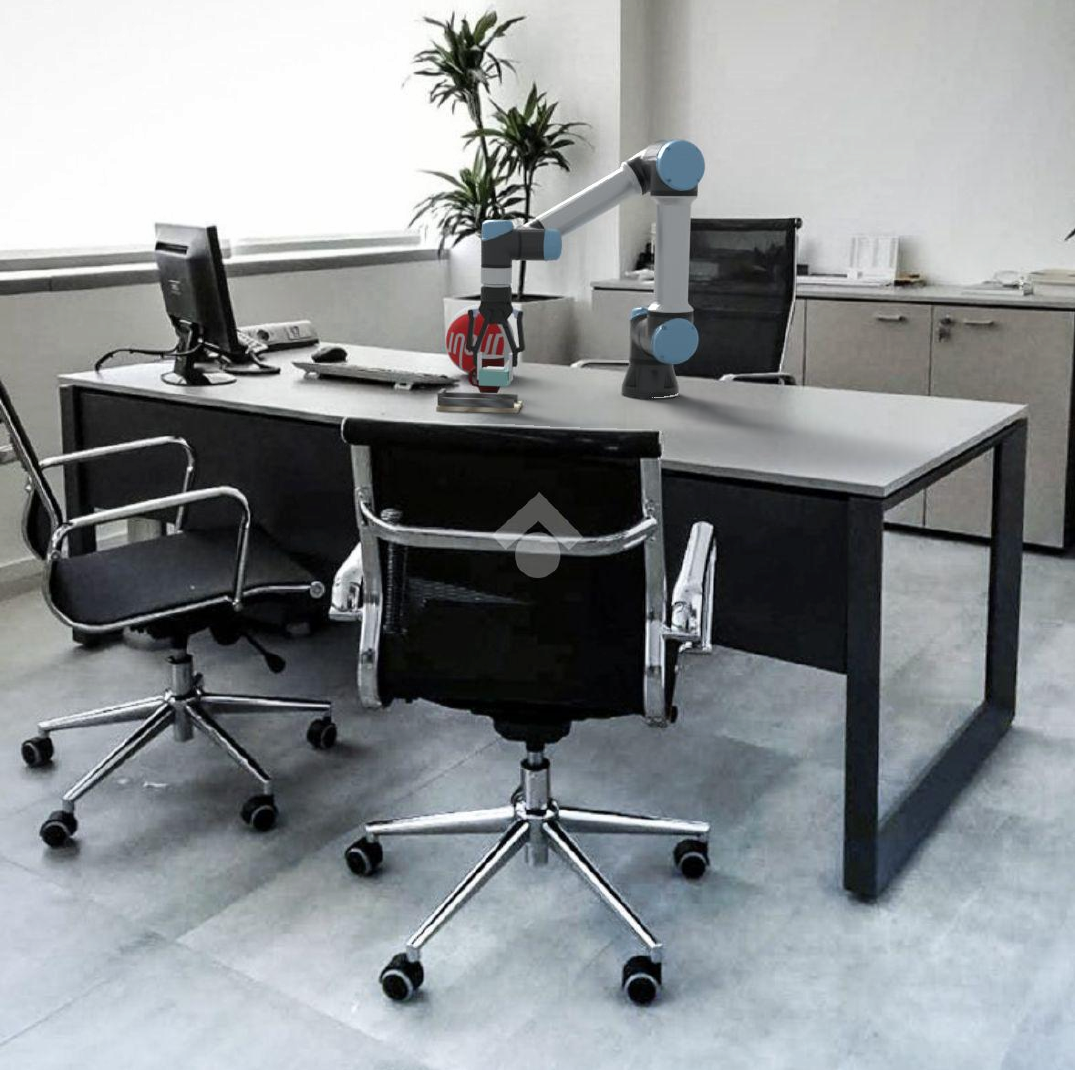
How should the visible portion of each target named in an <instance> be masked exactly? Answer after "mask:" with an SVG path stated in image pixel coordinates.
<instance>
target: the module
mask: <svg viewBox="0 0 1075 1070" xmlns="http://www.w3.org/2000/svg"><path fill="white" fill-rule="evenodd" d="M511 383H512V381H509V367H505V366H504V367H492V366H488V367H483V368H482V369H480V370H479V385H484V386H500V387H508V386H509V385H510V384H511Z"/></svg>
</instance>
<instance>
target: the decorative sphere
mask: <svg viewBox="0 0 1075 1070" xmlns="http://www.w3.org/2000/svg"><path fill="white" fill-rule="evenodd" d="M479 306H480V304H475V305H474V304H473V305H469V306H467V307H465V308H462V309H461V310H459V311H458V312H457V313H456V314H455V315H454V316H452V318H451V320H450V321H449V323H448V324H447V327H446V330H445V334H444V335H445V336H444V347H445V350H446V354H447V355H448V357H449V359H450V360H451V362H452V363H453V365H454V366H455V367H456V368H458V369H459V370H460V371H462V372H465V373H466V374H467V375H468V374H469V371H470V370H471V369H472V368H474V365H473V352H472V351H470V350H467V349H466V340H467V333H468V325H469V316H468V310H469V309H476V308H479ZM507 320H508V323H509V326H510V329H511V332H512V335H513V338H514V339H515V334H514V329H513V327H512V325H511V323H510V321H509V318H508V319H507ZM483 322H484V318H483V317H482V315H481V314H480V312H478V315H477V317H475V326H474V334H473V341H472V345H473V346H475V343H476V340H477V338H478V335H479V333H480V330H481V328H482V325H483ZM479 352H482V355H501V356H504V366H505V365H506V364H507V363H509V354H510V353H512V351H511V348H510V345H509V342H508V339H507V337H506V334H505V331H504V328H503V326H502V325H500V324H489V326H488V328H487V330H486V333H485V336H484V338H483V341H482V343H481V346H480V348H479ZM473 376H475V372H474V374H473Z"/></svg>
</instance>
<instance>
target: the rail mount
mask: <svg viewBox="0 0 1075 1070" xmlns="http://www.w3.org/2000/svg"><path fill="white" fill-rule="evenodd" d="M518 397H519V395H518V393H505V392H504V393H498V392H497V393H480V392H465V391H463V392H461V391H447V388H444V387H443V388H441V389H440V390H439V391H438V392H437V405H436V407H435V409H436V412H437V411H439V412H465V411H469V412H471V413H477V412H478V413H499V414H500V413H503V414H504V413H505V414H508V413H509V414H518V413H519V411H520V409H521V408H522V406H523V401H522V400H518V399H519V398H518Z"/></svg>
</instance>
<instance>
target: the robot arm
mask: <svg viewBox="0 0 1075 1070" xmlns="http://www.w3.org/2000/svg"><path fill="white" fill-rule="evenodd" d="M705 169H706V163H705V158H704V155H703V153H702V151H701V150H700V148H699V147H698V146H697V145H696V144H694V143H693V142H690V141H688V140H685V139H679V138H676V139H668V140H667V139H660V140H657V141H655V142H653V143H650V144H649V145H648V146H646V147H644V148H643V149H641V150H640V151H638V152H637V153H635V154H633V155H632V156H631V157H629V158H628V159H626V160H624V161H622V162H621V164H620V168H619V169H617V170H615V171H614V172H612V173H610V174H608V175H607V176H605V177H603V178H601V179H600V180H598V181H597V182H595V183H593V184H592V185H589V186H588V187H585V189H583V190H582V191H579V192H578V193H576V194H574V195H572V196H571V197H569V198H568V199H566V200H564V201H562V202H561V203H559V204H557V205H556V206H554V207H552V208H551V209H549V210H547V211H545V212H544V213H542V214H540V215H539V216H536V217H535V218H534V219H532V220H530V221H528V222H526V223H525V224H520V225H517V226H515V227H514V223H513V222H512V220H510V219H509V220H508V219H486V220H484V221H483V222H482V225H481V234H480V253H481V254H480V264H481V265H480V283H481V284H482V285H481V287H480V304H479V305H480V306H479V308H476V309H469V310H468V316H469V325H468V333H467V340H466V349H467V350H470V351H472V352H473V365H474V366H477V380H479V370H480V369H482V352H479V348H480V346H481V343H482V341H483V338H484V336H485V333H486V330H487V328H488V326H489V324H500V325H502V326H503V328H504V331H505V334H506V337H507V339H508V342H509V345H510V348H511V351H512V353H510V354H509V360H508V368H509V381H511V382H512V381H513V379H514V368H517V367H518V362H519V361H518V357H519V353H523V352H524V351H525V350H526V343H525V333H524V325H523V322H524V321H523V320H524V319H523V318H524V314H525V311H524V310H522V309H520V310H518V309H515V308H514V306H513V304H512V300H513V299H512V293H513V292H512V291H513V290H512V286H510V285H512V283H513V282H512V281H513V261H533V262H534V261H536V262H537V261H539V262H541V261H542V262H543V261H545V262H548V261H549V262H550V261H557V260H559V259H560V258H561V255H562V250H563V249H562V246H563V239H562V238H563V237H566V236H567V235H569V234H571V233H572V232H574V231H576V230H578V229H579V228H581V227H583V226H584V225H587V224H588V223H589V222H592V221H593V220H595V219H596V218H598V217H600V216H601V215H604V214H605V213H607V212H609V211H610V210H612V209H613V208H615V207H618V206H619V205H621V204H622V203H624V202H626V201H627V200H629V199H631V198H633V197H637V198H641V197H642V196H644V195H646V194H648V193H649V195H650V198H651V199H652V201H653V202H654V204H655V234H654V239H655V240H654V242H655V243H654V270H653V271H654V273H653V274H654V275H653V276H654V277H653V301H652V303H651V304H650V305H649V306H648V307H634V308H633V309H632V310H631V312H630V318H629V325H630V326H629V327H630V328H629V350H628V351H629V354H628V355H629V357H628V361H629V362H628V367H627V370H626V373H625V375H624V378H623V380H622V384H621V394H622V395H623V396H625V397H630V398H634V397H638V398H637V399H645V398H652V397H653V398H654V397H664V396H670V395H675V394H677V393H679V390H680V387H679V383H678V380H677V376H676V373H675V368H674V365H679V364H682V363H684V362H686V361H688V360H689V359H690V358H691V357H692V356H693V355H694V353H696V351H697V348H698V345H699V340H700V339H699V333H698V330H697V328H696V326H695V325H694V308H693V307H692V306H691V304H689V300H688V299H689V278H690V277H689V275H690V272H689V271H690V248H691V245H690V244H691V223H692V222H691V216H692V215H691V214H692V204H693V203H694V201H696V199H698V197H699V196H698V193H699V183H700V182H701V180H702V179H703V178H704V177H703V176H704V174H705ZM478 312H480V314H481V315H482V317H483V318H484V322H483V325H482V328H481V330H480V333H479V335H478V338H477V340H476V343H475V346H473V345H472V341H473V334H474V326H475V317H477V315H478ZM512 315H514V316H513V317H514V319H516V330H517V340H518V346H517V344H516V340H515V337H514V338H513V335H512V332H511V329H510V326H509V323H508V321H509V318H510V317H511V316H512ZM507 319H508V320H507ZM679 394H680V393H679Z"/></svg>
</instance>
